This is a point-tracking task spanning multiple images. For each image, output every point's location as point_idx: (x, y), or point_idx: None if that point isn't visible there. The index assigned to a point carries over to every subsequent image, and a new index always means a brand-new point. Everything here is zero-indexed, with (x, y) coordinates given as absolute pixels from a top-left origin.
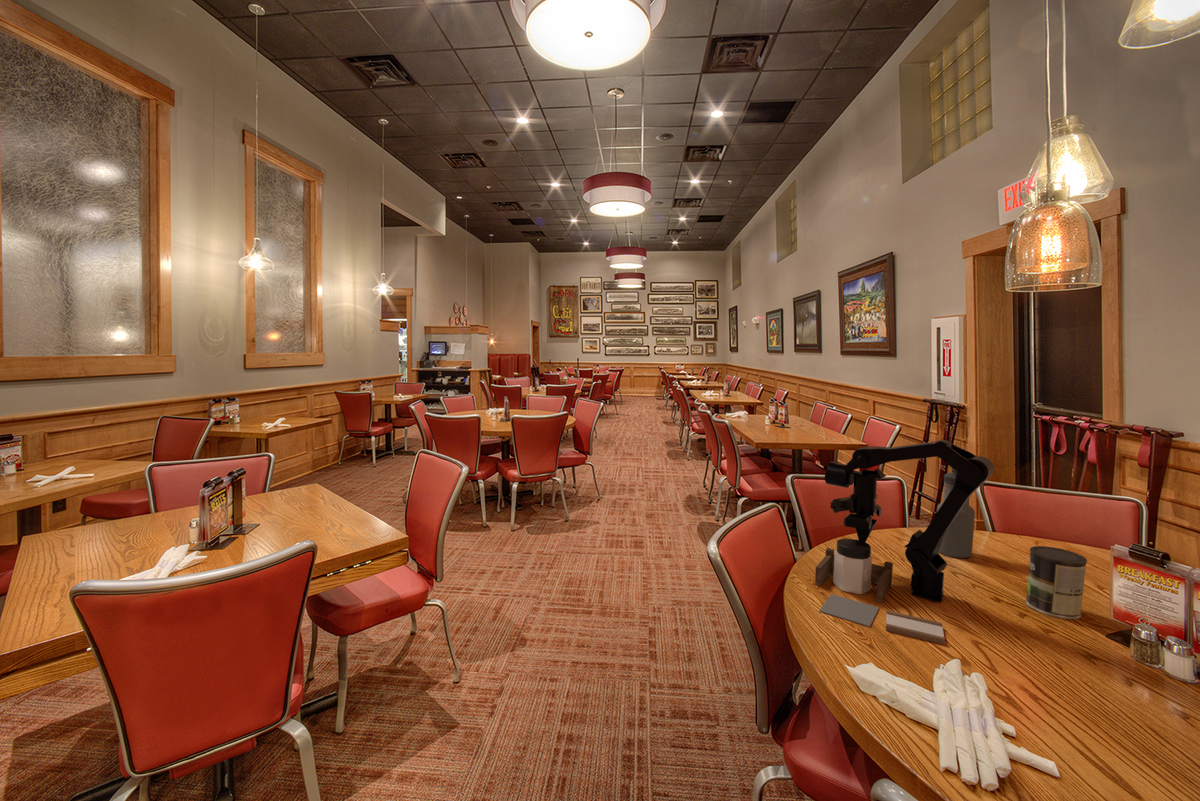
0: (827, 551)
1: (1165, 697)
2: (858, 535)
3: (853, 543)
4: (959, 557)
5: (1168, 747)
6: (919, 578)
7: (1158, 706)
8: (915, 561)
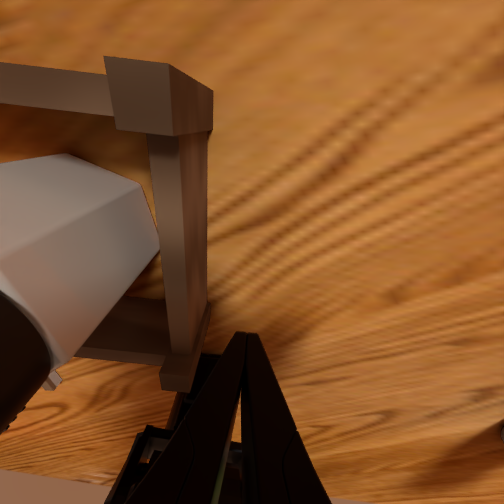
0: (113, 78)
1: (106, 481)
2: (191, 409)
3: None
4: (501, 431)
5: (9, 466)
6: (174, 409)
7: (81, 476)
8: (118, 483)
